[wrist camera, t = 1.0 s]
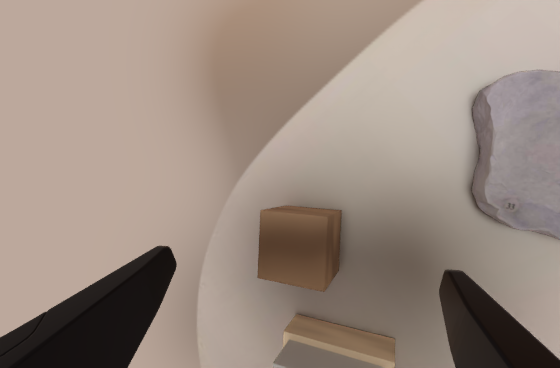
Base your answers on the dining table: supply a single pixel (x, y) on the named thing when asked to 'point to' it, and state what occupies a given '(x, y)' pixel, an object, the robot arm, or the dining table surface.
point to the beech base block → (342, 340)
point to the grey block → (315, 358)
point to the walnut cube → (299, 246)
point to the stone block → (520, 151)
